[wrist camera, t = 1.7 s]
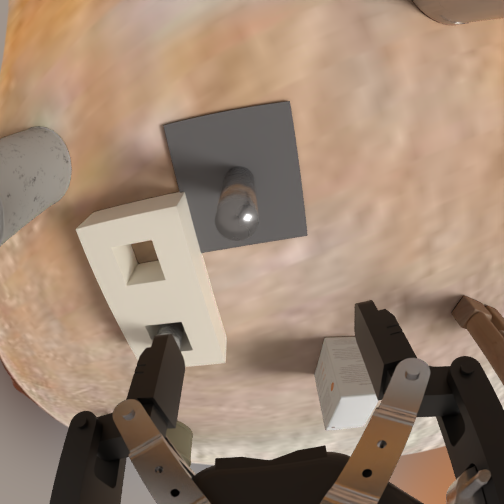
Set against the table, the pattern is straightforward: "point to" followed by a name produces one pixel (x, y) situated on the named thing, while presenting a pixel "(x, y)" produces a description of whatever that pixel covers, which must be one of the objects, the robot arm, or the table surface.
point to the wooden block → (483, 330)
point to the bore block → (155, 275)
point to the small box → (343, 384)
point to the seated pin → (172, 331)
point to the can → (181, 440)
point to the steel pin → (237, 205)
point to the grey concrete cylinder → (30, 176)
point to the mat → (240, 155)
